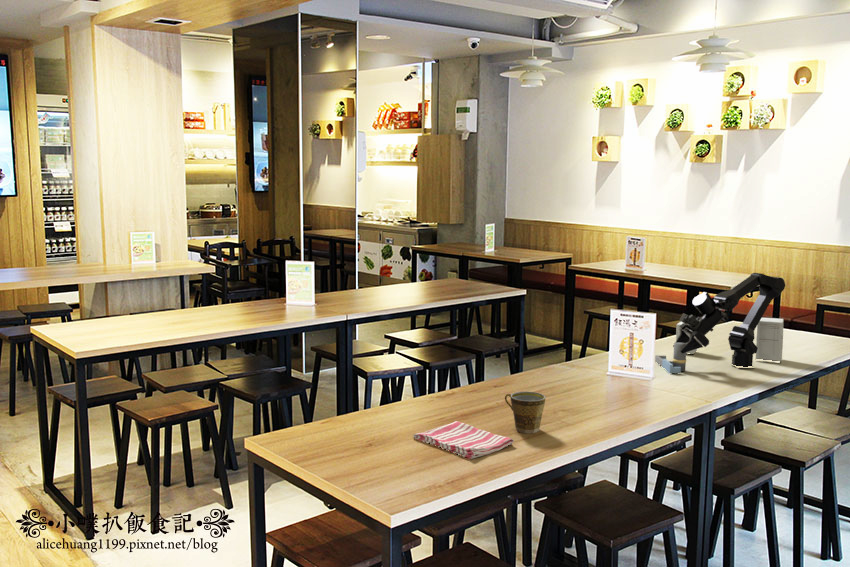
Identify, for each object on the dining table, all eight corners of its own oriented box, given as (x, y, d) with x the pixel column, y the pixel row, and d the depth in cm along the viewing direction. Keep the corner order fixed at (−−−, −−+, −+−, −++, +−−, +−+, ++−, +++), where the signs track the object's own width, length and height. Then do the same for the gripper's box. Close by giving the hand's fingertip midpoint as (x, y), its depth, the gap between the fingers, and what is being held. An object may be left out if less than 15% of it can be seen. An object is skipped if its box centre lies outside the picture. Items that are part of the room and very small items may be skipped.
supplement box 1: (697, 352, 321) (698, 322, 320) (693, 355, 315) (694, 325, 313) (679, 350, 325) (680, 321, 324) (674, 353, 319) (676, 323, 317)
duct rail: (665, 361, 304) (665, 353, 303) (680, 374, 284) (680, 364, 284) (655, 361, 304) (655, 352, 304) (669, 373, 284) (670, 364, 284)
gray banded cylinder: (683, 369, 292) (684, 342, 290) (687, 372, 287) (688, 345, 286) (671, 369, 292) (672, 342, 290) (674, 372, 287) (675, 344, 286)
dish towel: (471, 462, 195) (471, 449, 194) (411, 440, 212) (411, 428, 211) (515, 447, 206) (515, 435, 206) (455, 427, 223) (455, 415, 223)
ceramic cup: (551, 429, 220) (552, 395, 218) (531, 437, 212) (532, 403, 211) (514, 420, 228) (515, 387, 227) (494, 427, 221) (495, 394, 219)
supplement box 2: (782, 359, 308) (784, 318, 306) (780, 364, 300) (783, 322, 298) (756, 356, 313) (759, 316, 311) (754, 361, 305) (757, 320, 302)
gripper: (685, 302, 295) (656, 330, 297) (702, 310, 277) (670, 340, 278) (705, 322, 296) (675, 350, 298) (722, 332, 278) (690, 361, 279)
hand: (677, 349), depth 288 cm, fingers open, 9 cm apart
